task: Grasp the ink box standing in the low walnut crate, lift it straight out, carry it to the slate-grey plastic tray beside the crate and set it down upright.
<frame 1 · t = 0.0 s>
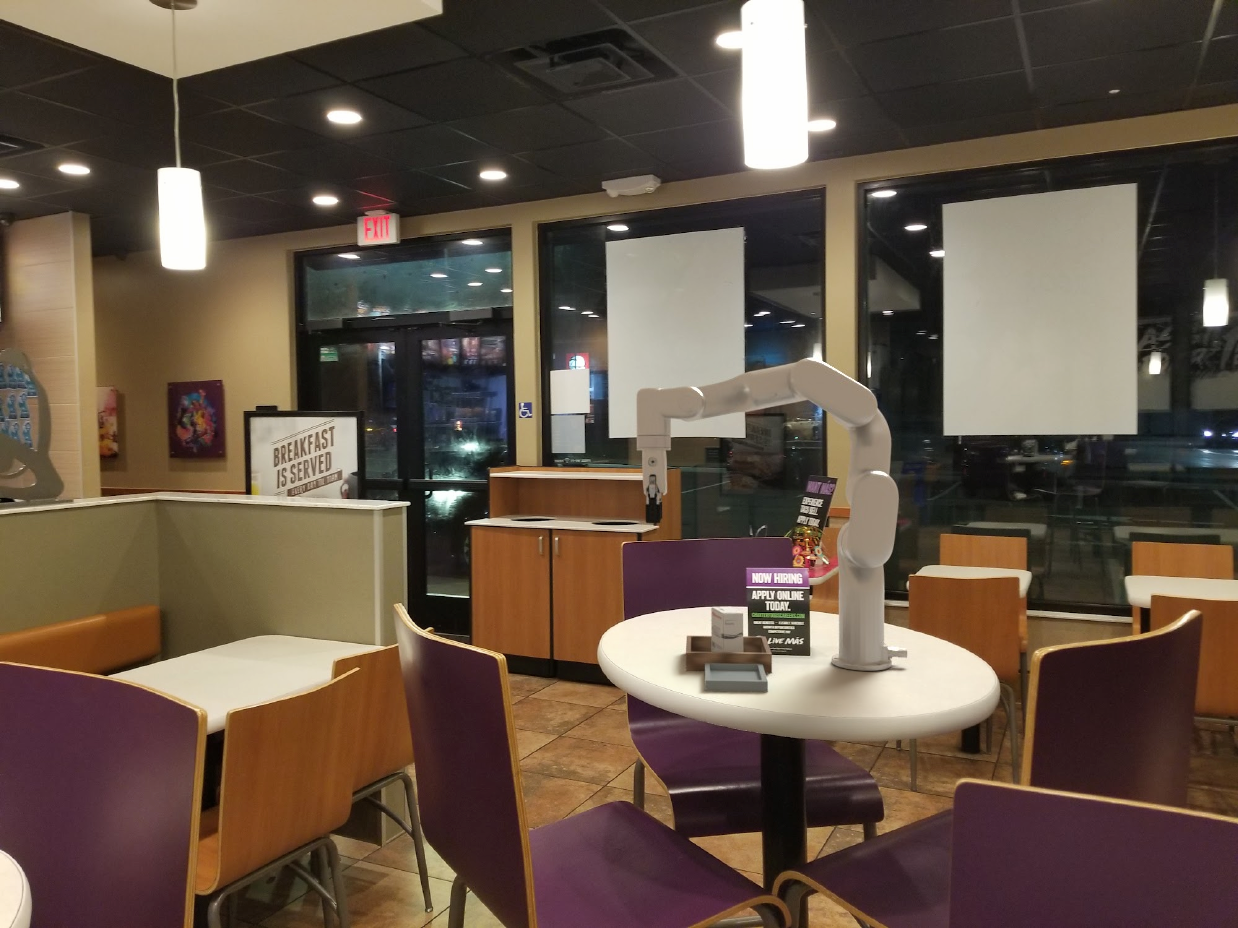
hand: (654, 521, 194), 31 cm above the table, fingers open, 9 cm apart
tray: (734, 681, 177), on the table
crate: (727, 662, 193), on the table
ink box: (727, 663, 193), resting in crate
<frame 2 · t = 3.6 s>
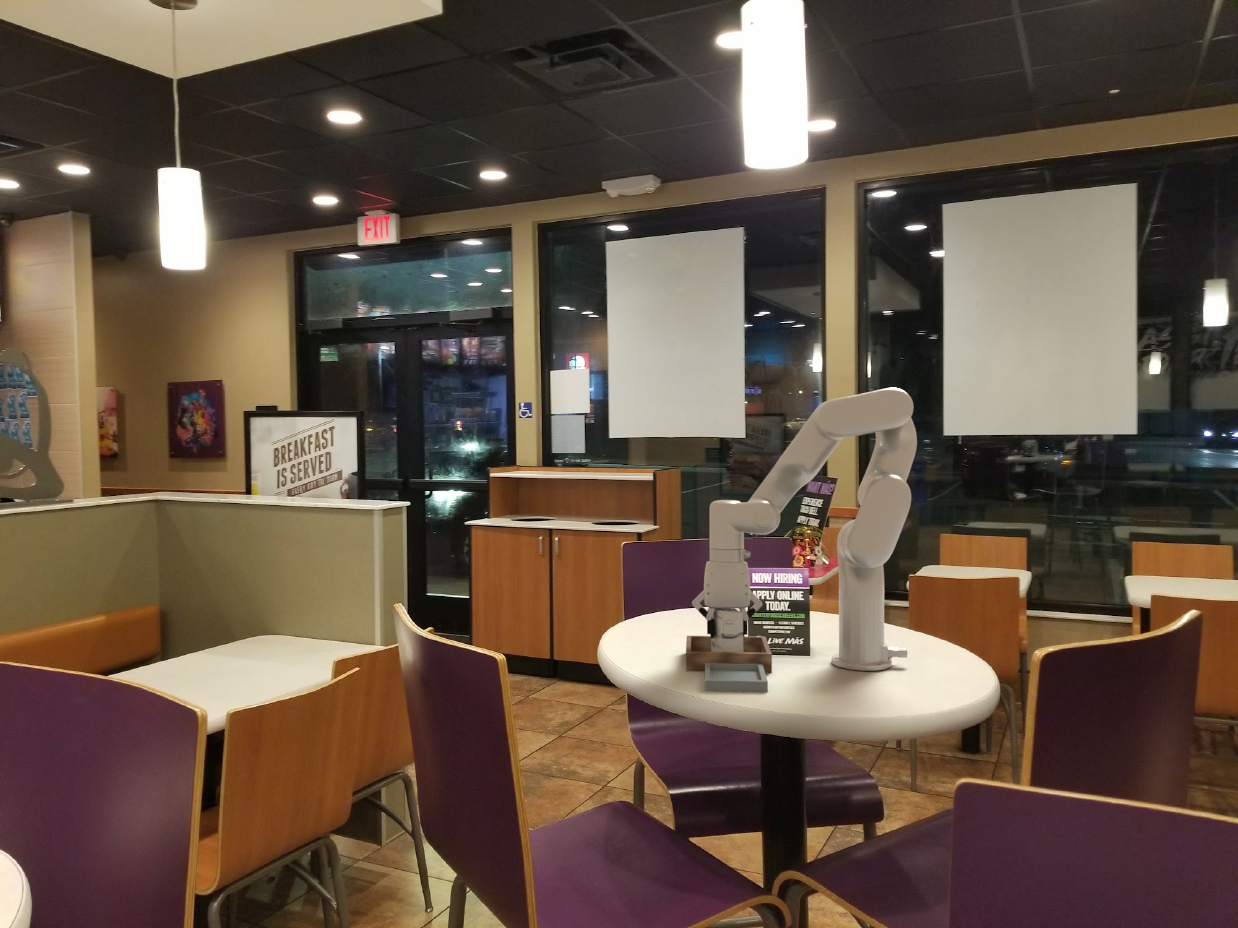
hand: (727, 636, 193), 6 cm above the table, fingers closed on ink box, 6 cm apart
ink box: (727, 663, 193), resting in crate, touching gripper
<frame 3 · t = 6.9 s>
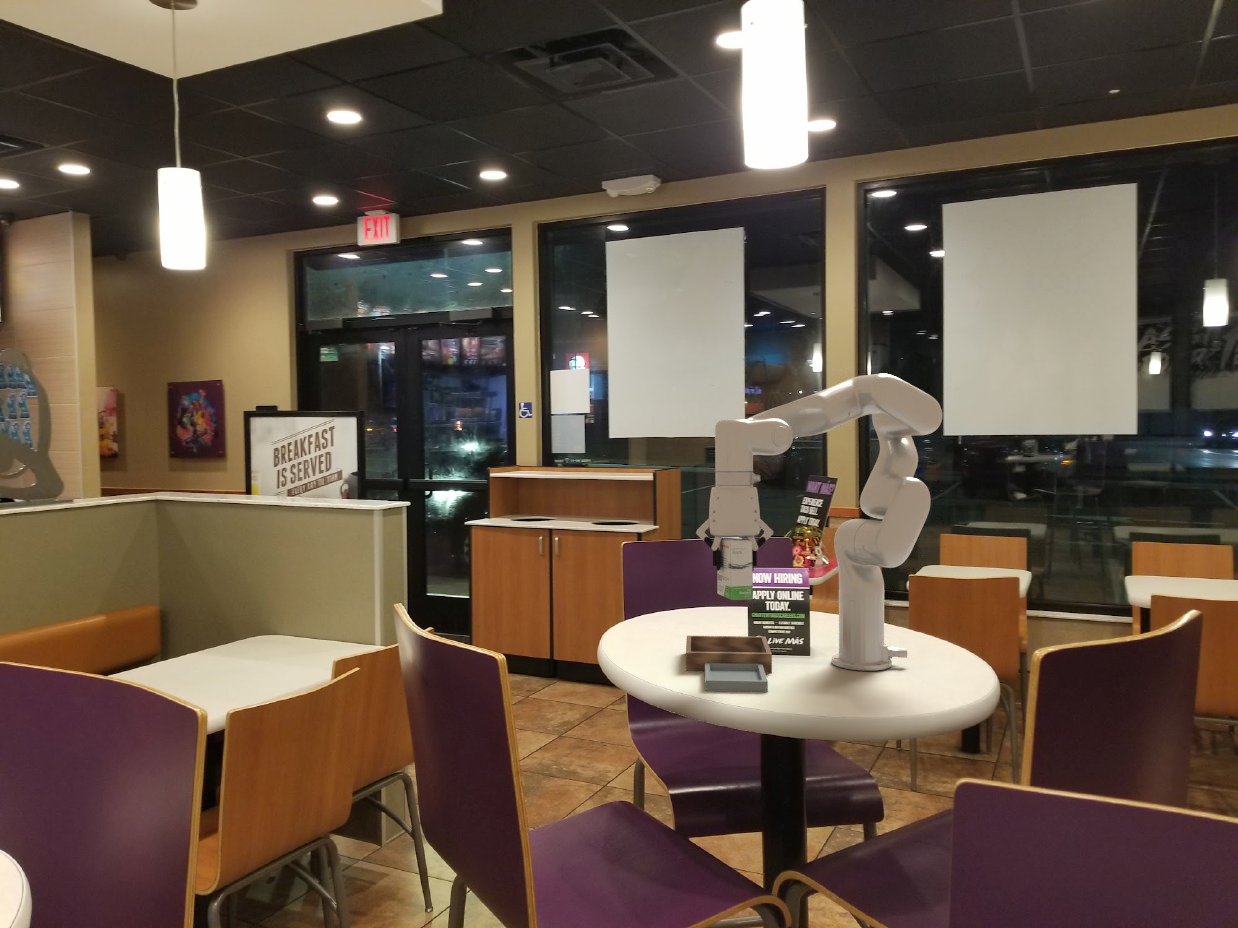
hand: (734, 568, 176), 23 cm above the table, fingers closed on ink box, 6 cm apart
ink box: (734, 597, 177), point 17 cm above the table, touching gripper
when the fingers open (7 cm above the table, at t = 10.5 s): ink box stays where it is, resting on tray.
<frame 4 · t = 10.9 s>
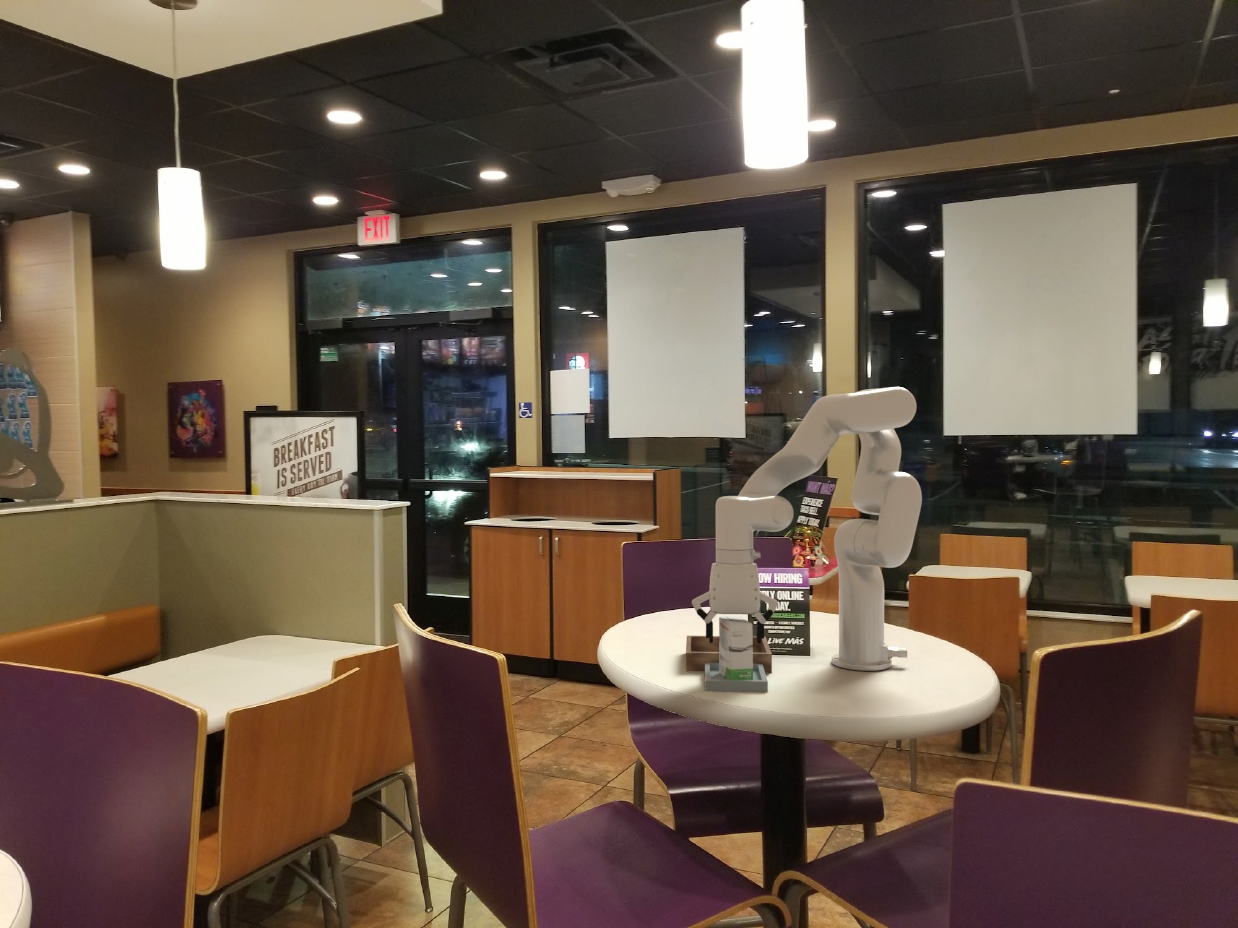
hand: (734, 641, 177), 8 cm above the table, fingers open, 9 cm apart
ink box: (735, 678, 177), point 1 cm above the table, touching tray
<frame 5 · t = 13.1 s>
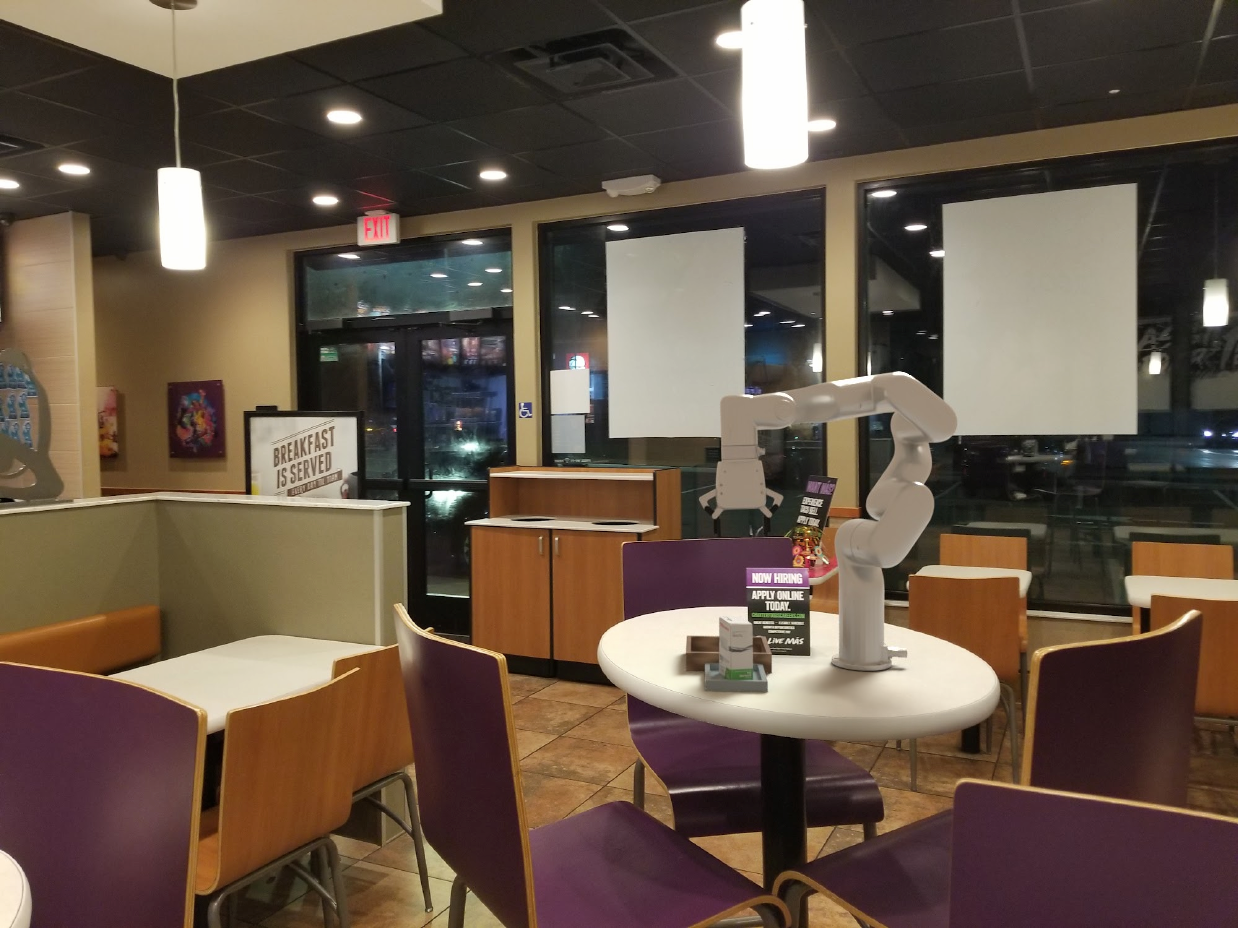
hand: (741, 536, 181), 29 cm above the table, fingers open, 9 cm apart
nothing on the table moved.
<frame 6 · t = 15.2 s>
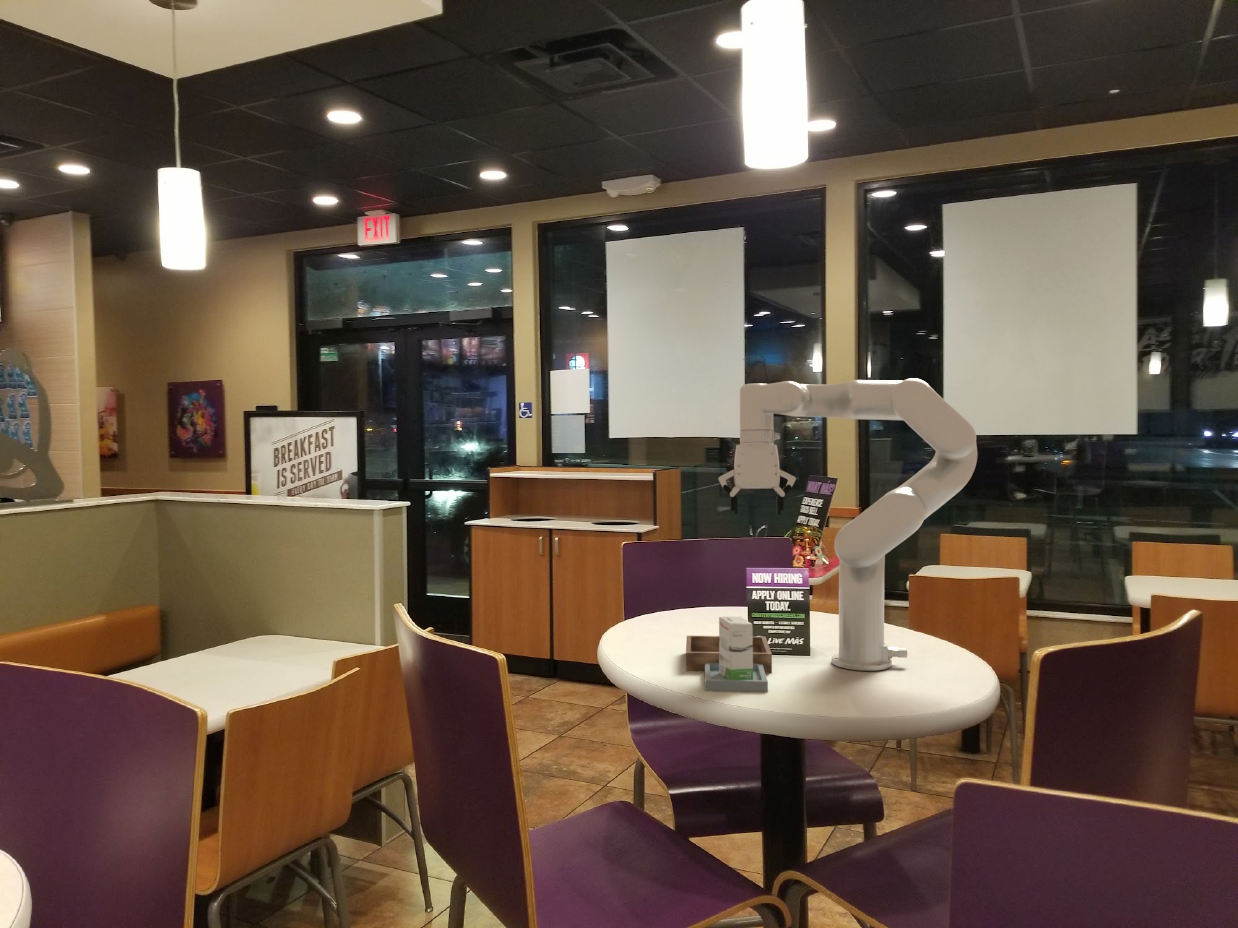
hand: (756, 514, 198), 32 cm above the table, fingers open, 9 cm apart
nothing on the table moved.
at the end: ink box inside the target area on the tray (0.3 cm from its centre), point 0.6 cm above the tray's base; ink box tilted 0°; the gripper is holding nothing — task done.
